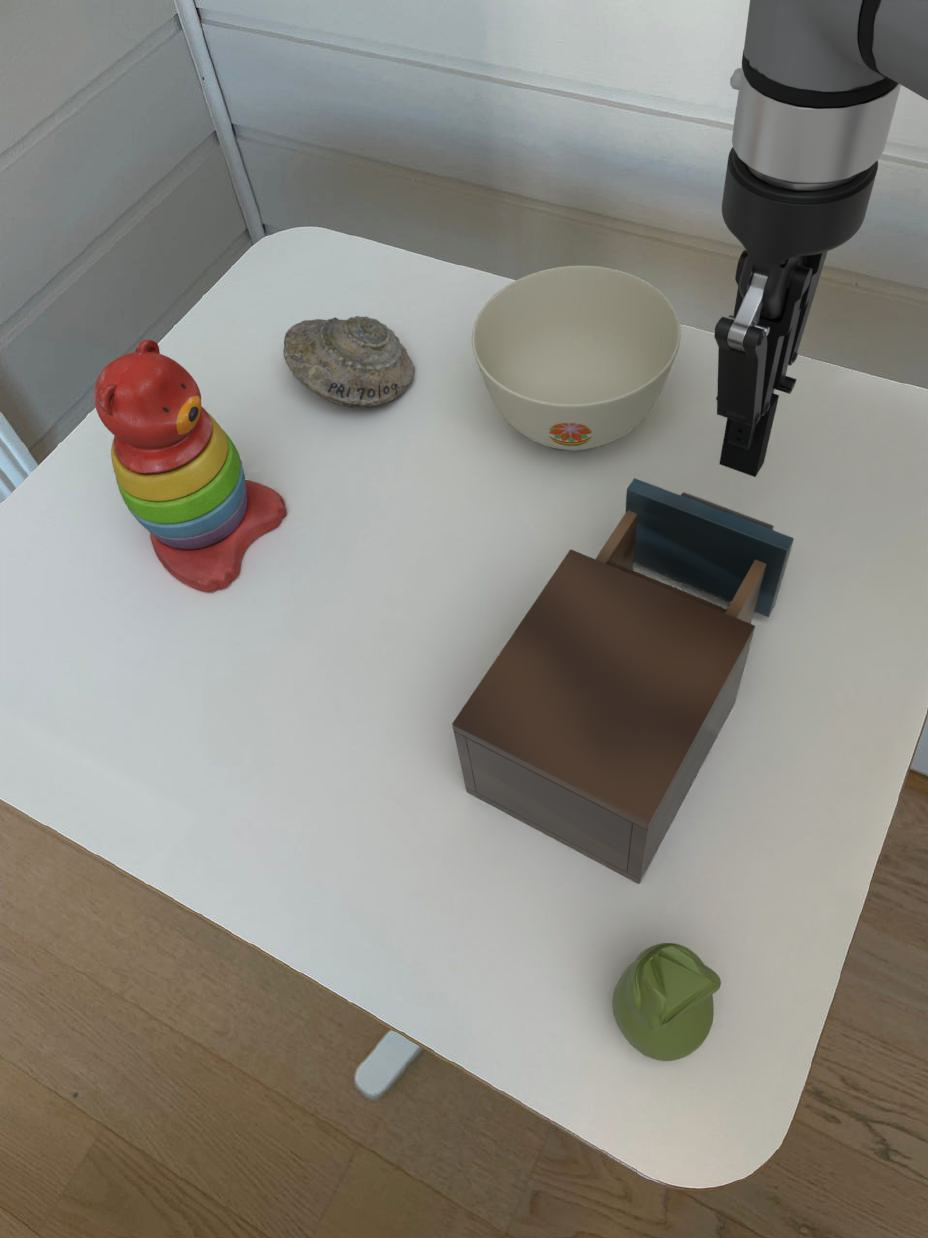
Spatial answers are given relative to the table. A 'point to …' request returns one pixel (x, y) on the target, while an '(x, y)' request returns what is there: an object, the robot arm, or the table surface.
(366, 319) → the fossilized seashell
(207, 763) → the table surface
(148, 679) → the table surface
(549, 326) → the bowl
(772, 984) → the table surface
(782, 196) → the robot arm
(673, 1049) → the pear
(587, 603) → the cabinet
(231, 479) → the stacking bear
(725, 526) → the drawer
